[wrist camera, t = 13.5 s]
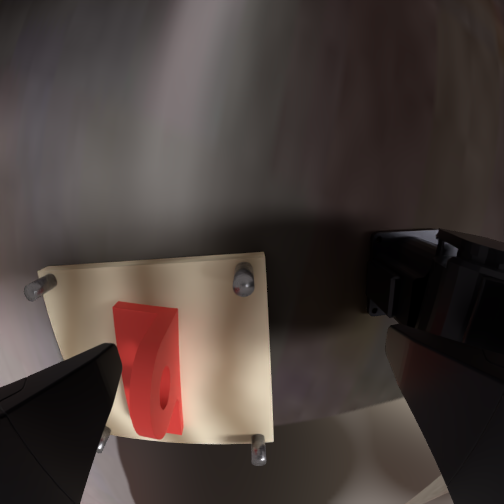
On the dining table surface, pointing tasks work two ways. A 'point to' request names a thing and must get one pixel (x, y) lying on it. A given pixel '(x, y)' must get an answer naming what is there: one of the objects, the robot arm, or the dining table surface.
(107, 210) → the dining table surface
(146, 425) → the bracket
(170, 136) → the dining table surface
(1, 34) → the dining table surface
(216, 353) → the peg board
